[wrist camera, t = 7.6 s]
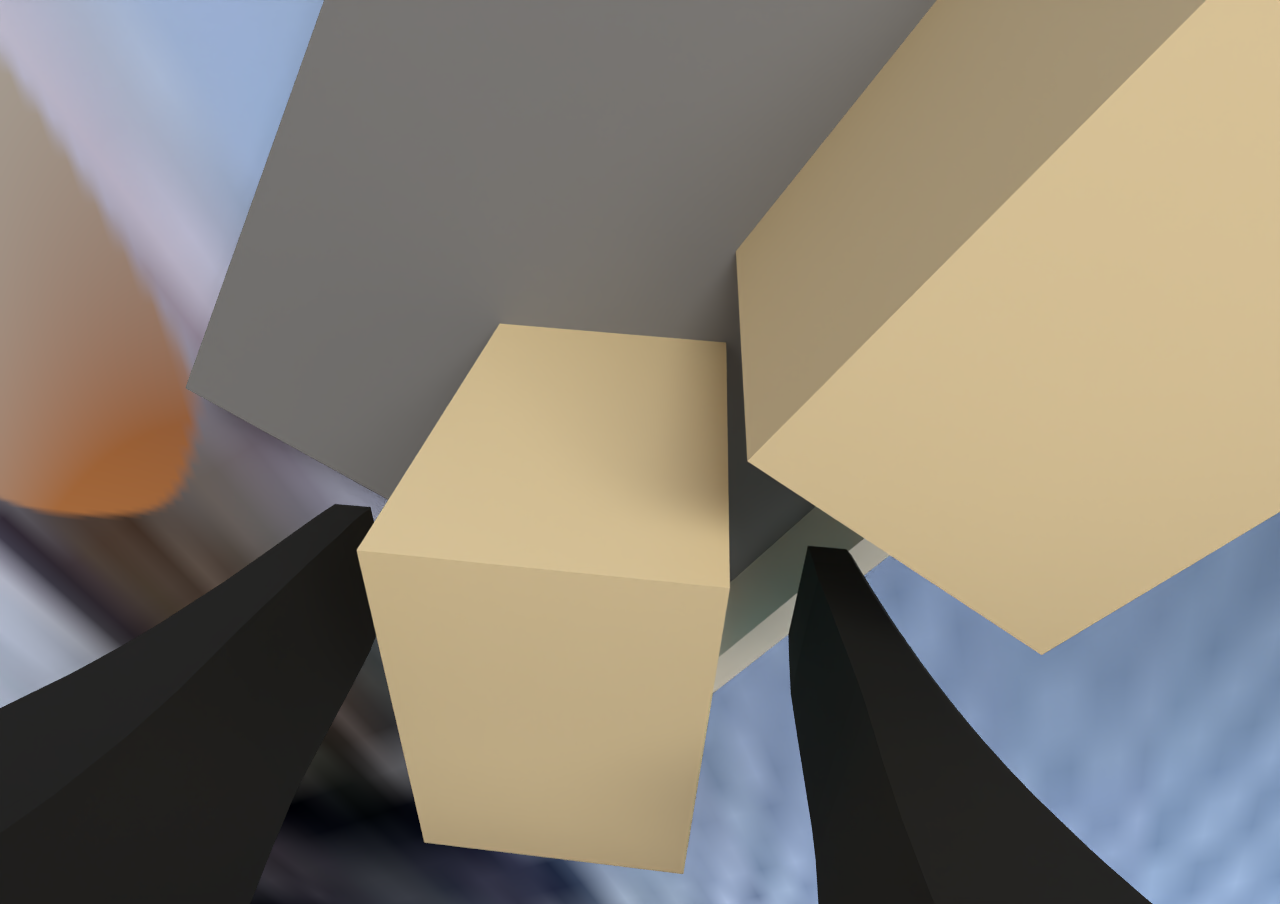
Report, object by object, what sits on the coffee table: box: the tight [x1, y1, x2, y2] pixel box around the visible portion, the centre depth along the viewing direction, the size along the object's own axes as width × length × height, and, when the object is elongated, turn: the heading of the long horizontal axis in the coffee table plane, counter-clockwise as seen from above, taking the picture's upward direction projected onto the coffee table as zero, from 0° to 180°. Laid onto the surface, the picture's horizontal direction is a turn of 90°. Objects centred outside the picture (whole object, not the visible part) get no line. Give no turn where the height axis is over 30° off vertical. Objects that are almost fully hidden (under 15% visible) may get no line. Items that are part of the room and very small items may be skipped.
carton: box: [357, 324, 730, 874], centre depth 12 cm, size 6×4×6 cm, turn 177°
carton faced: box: [736, 0, 1280, 655], centre depth 8 cm, size 6×4×6 cm, turn 145°
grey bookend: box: [186, 0, 937, 693], centre depth 12 cm, size 12×15×3 cm
